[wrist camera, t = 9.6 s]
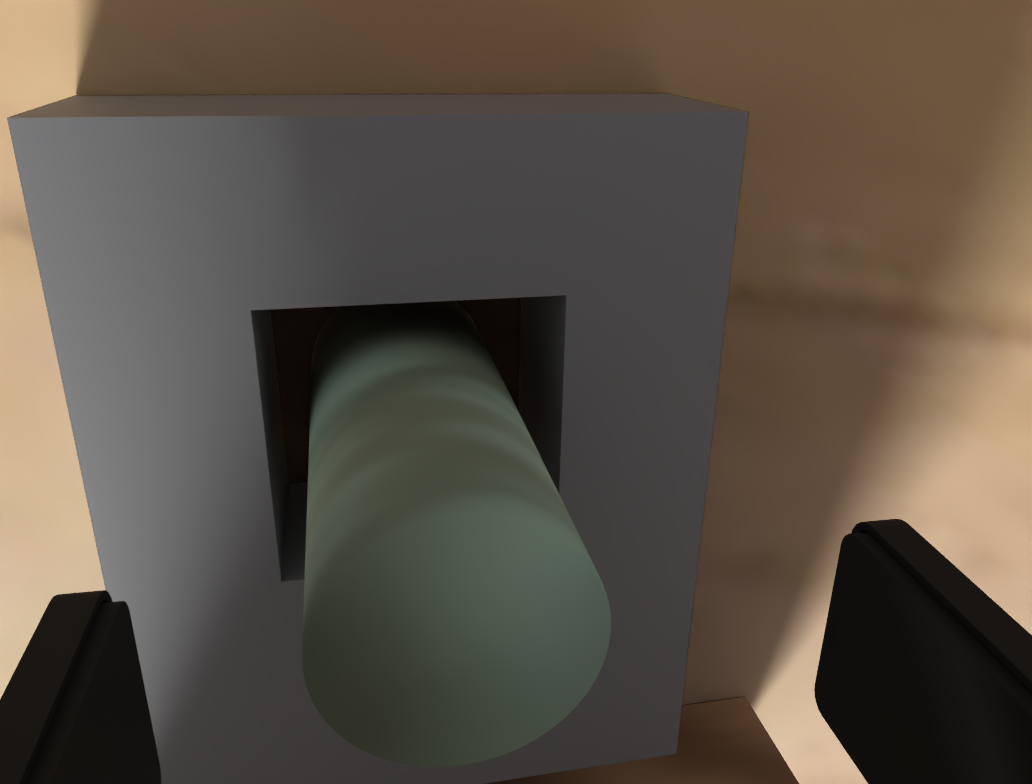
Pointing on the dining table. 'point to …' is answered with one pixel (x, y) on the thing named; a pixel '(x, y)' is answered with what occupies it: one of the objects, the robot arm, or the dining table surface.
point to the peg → (436, 548)
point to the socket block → (367, 281)
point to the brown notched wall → (696, 754)
